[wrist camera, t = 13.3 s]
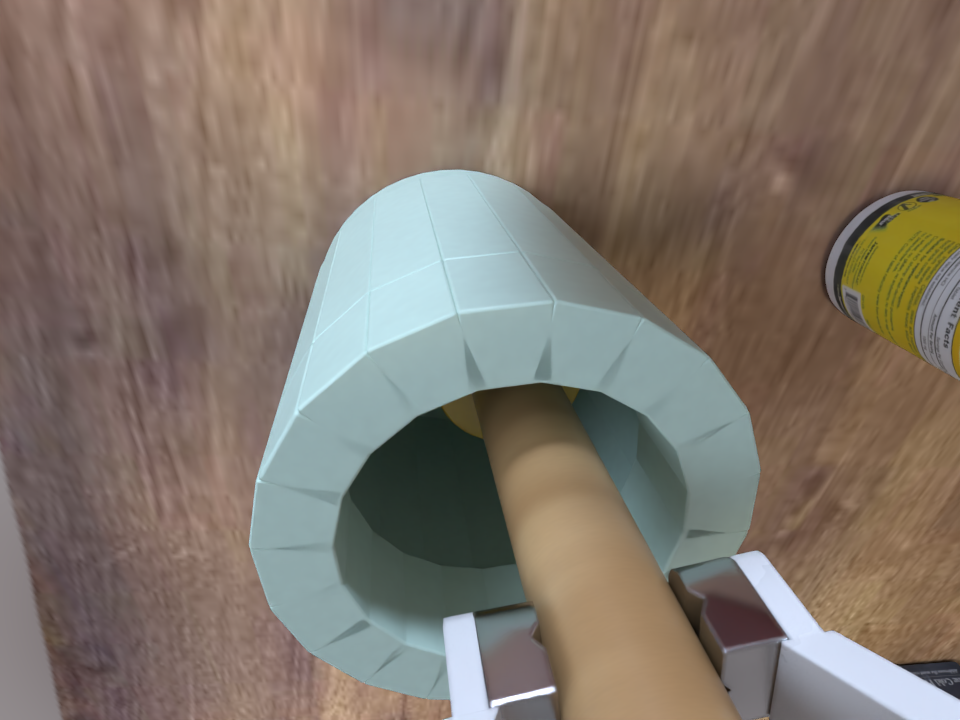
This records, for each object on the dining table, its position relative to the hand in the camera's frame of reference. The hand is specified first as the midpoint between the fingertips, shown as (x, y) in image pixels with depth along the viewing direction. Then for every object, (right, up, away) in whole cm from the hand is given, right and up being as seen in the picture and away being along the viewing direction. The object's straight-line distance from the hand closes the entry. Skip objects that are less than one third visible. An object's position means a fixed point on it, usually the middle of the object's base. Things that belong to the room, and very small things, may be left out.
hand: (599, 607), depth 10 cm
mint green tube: (-3, +7, +15) cm, 17 cm away
